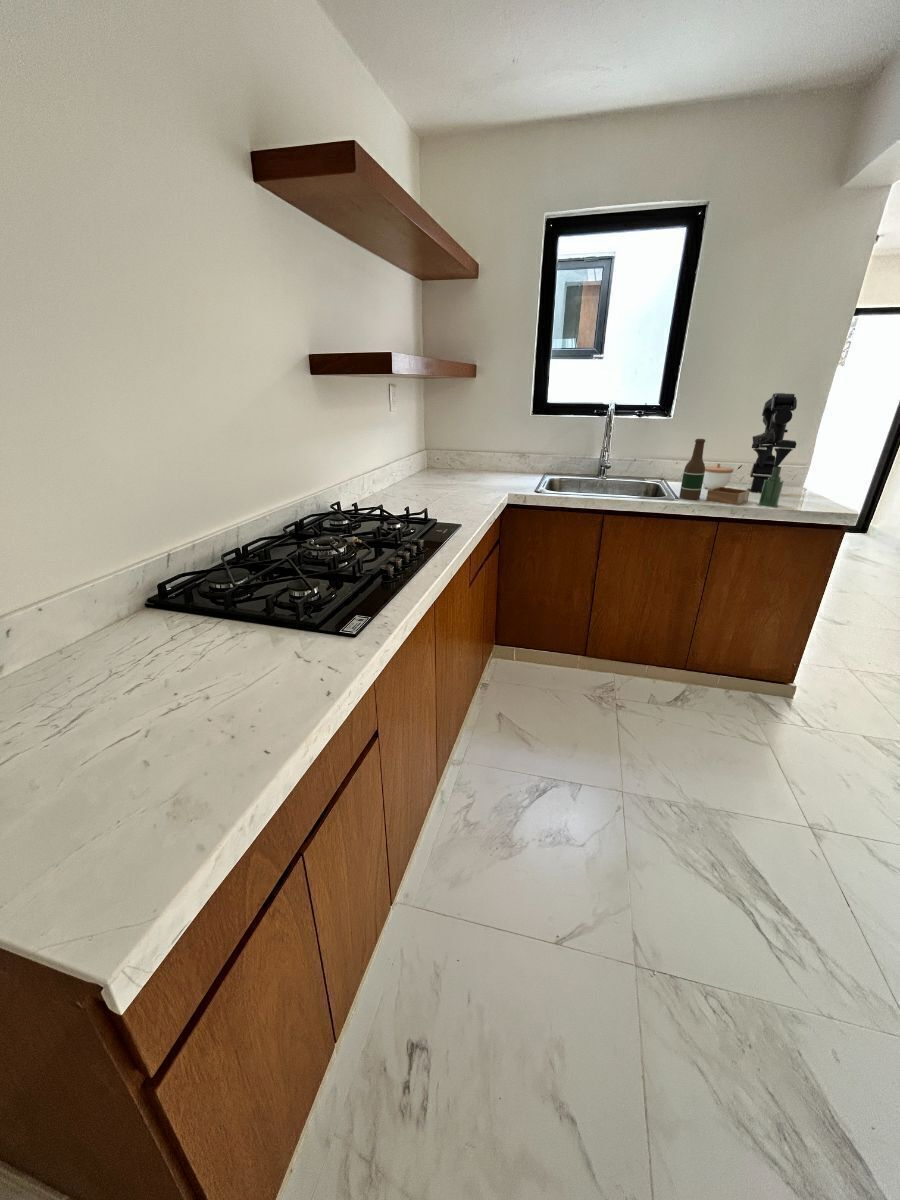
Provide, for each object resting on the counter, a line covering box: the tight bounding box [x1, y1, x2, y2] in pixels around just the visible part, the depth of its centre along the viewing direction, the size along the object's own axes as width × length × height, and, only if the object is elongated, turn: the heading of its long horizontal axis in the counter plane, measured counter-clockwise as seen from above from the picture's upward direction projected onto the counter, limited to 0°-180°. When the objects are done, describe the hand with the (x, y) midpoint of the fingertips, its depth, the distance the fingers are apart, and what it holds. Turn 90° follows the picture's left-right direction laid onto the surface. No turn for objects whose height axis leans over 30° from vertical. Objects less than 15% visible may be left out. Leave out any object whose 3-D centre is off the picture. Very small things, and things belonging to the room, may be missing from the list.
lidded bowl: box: [702, 463, 734, 490], centre depth 229 cm, size 13×13×11 cm
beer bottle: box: [679, 438, 706, 501], centre depth 203 cm, size 8×8×24 cm
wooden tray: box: [705, 486, 751, 506], centre depth 203 cm, size 12×12×4 cm
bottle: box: [758, 466, 785, 508], centre depth 193 cm, size 6×6×15 cm
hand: (768, 466), depth 205 cm, fingers open, 9 cm apart
